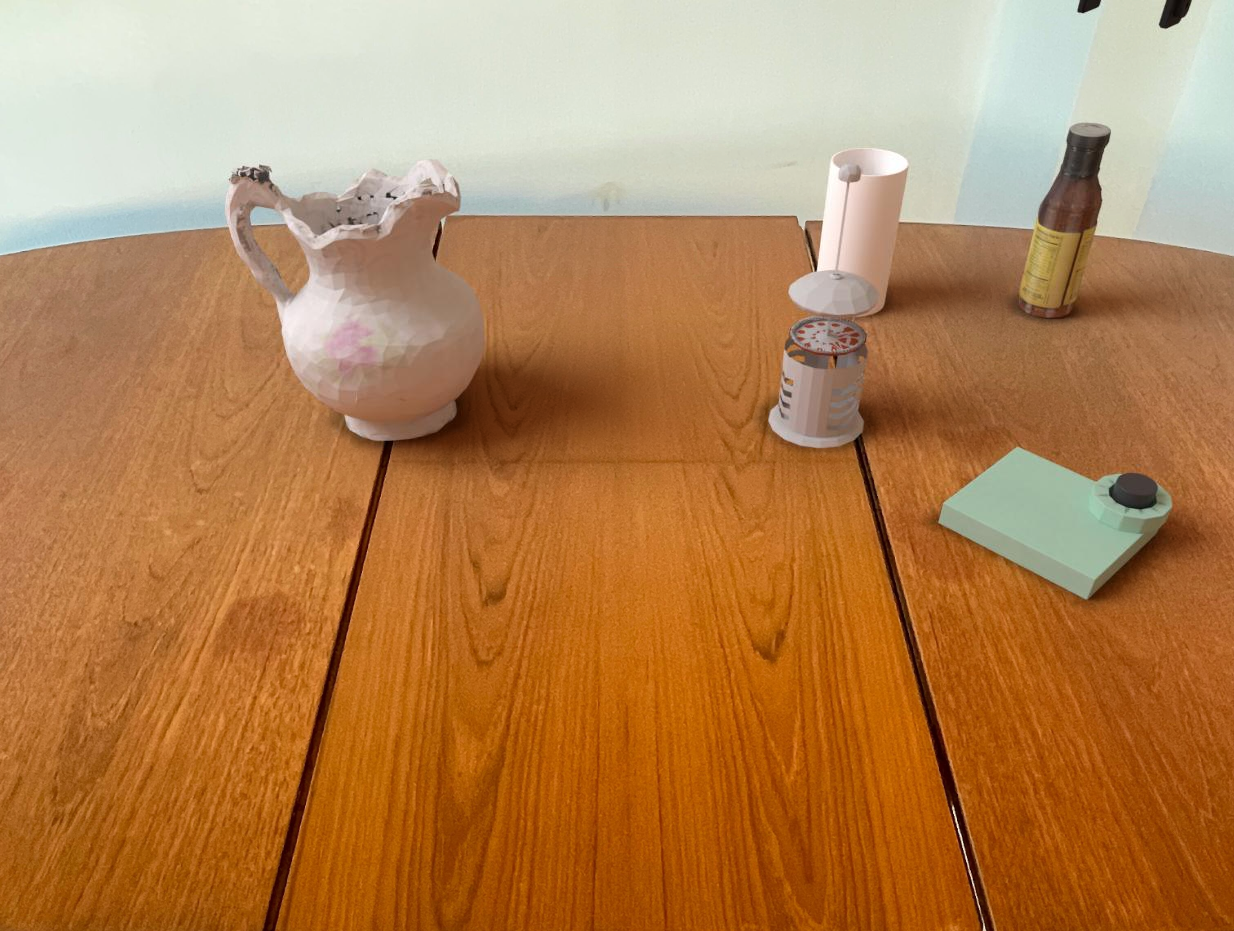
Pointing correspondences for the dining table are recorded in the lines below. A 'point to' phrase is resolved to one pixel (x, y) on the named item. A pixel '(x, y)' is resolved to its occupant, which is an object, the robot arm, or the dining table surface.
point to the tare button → (1134, 491)
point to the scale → (1053, 520)
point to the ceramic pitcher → (370, 297)
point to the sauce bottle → (1065, 226)
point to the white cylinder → (864, 216)
